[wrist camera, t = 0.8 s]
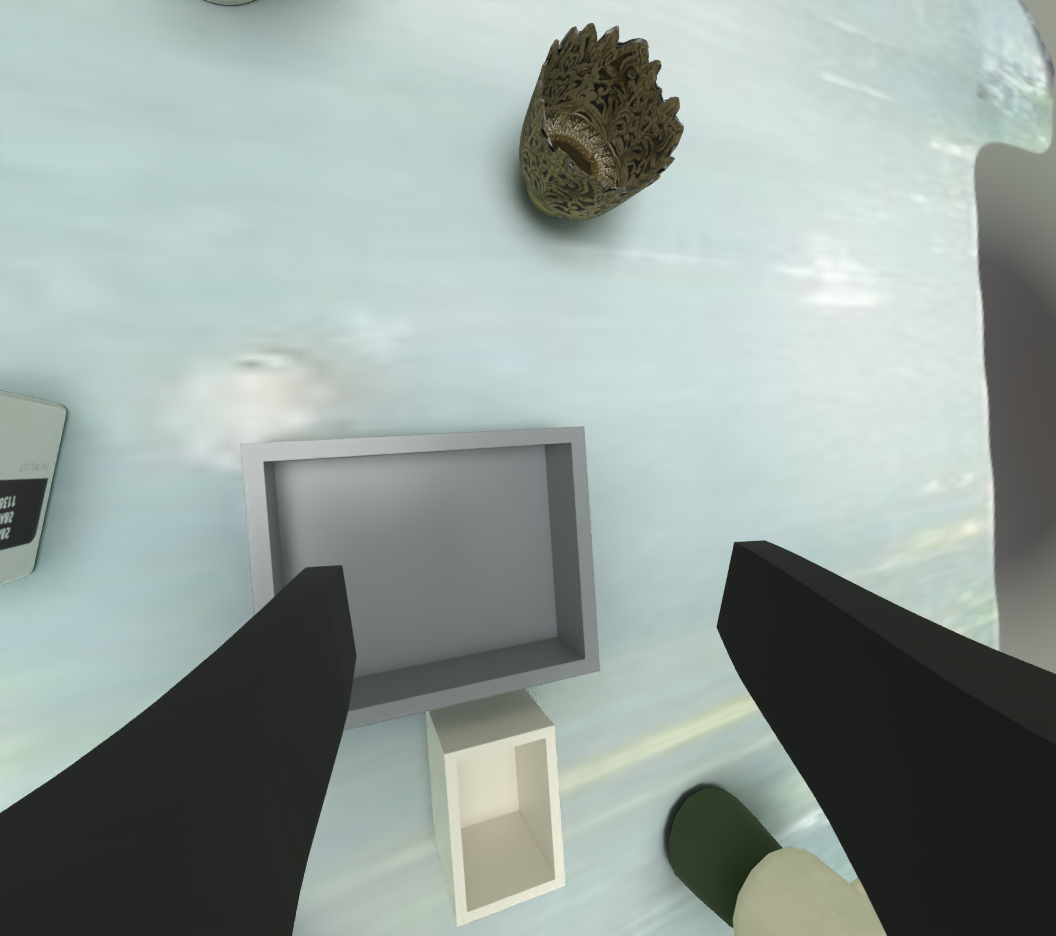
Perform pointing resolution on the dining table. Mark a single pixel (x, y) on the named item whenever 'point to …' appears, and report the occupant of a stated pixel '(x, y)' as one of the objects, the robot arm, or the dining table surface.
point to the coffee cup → (229, 2)
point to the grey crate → (436, 557)
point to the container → (25, 477)
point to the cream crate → (495, 802)
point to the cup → (596, 125)
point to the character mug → (761, 875)
